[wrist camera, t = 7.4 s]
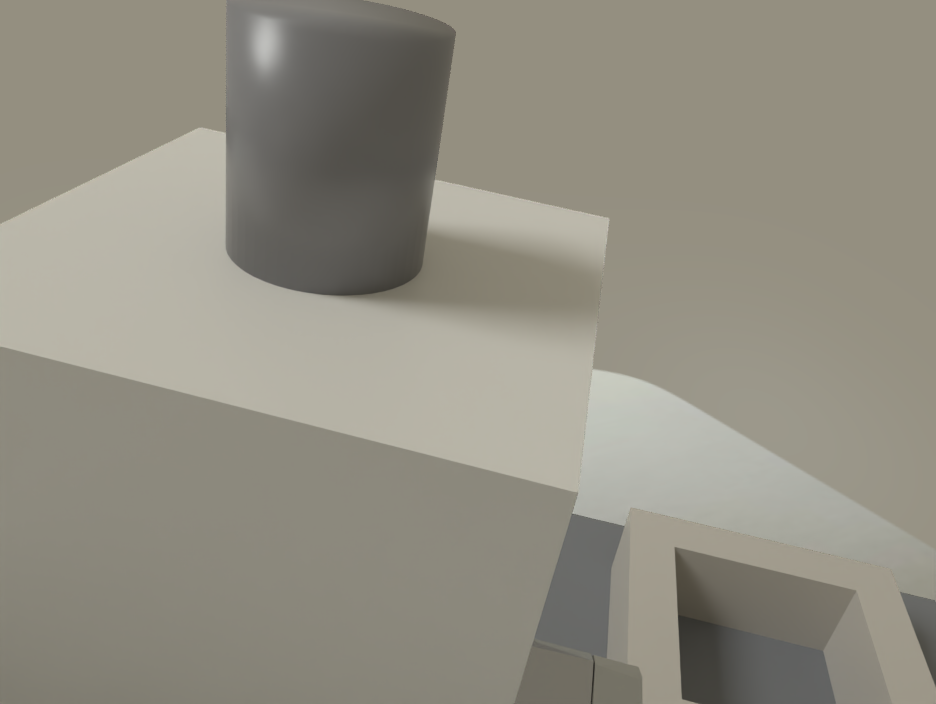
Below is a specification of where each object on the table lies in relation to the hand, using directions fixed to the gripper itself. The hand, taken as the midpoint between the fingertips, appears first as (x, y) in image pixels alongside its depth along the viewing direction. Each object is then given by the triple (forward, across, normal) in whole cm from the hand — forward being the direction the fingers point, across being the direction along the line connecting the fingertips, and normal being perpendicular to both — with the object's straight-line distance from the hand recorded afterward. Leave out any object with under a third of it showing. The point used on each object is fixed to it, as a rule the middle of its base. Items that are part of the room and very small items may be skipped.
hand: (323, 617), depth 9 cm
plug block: (-1, 0, +7) cm, 7 cm away
